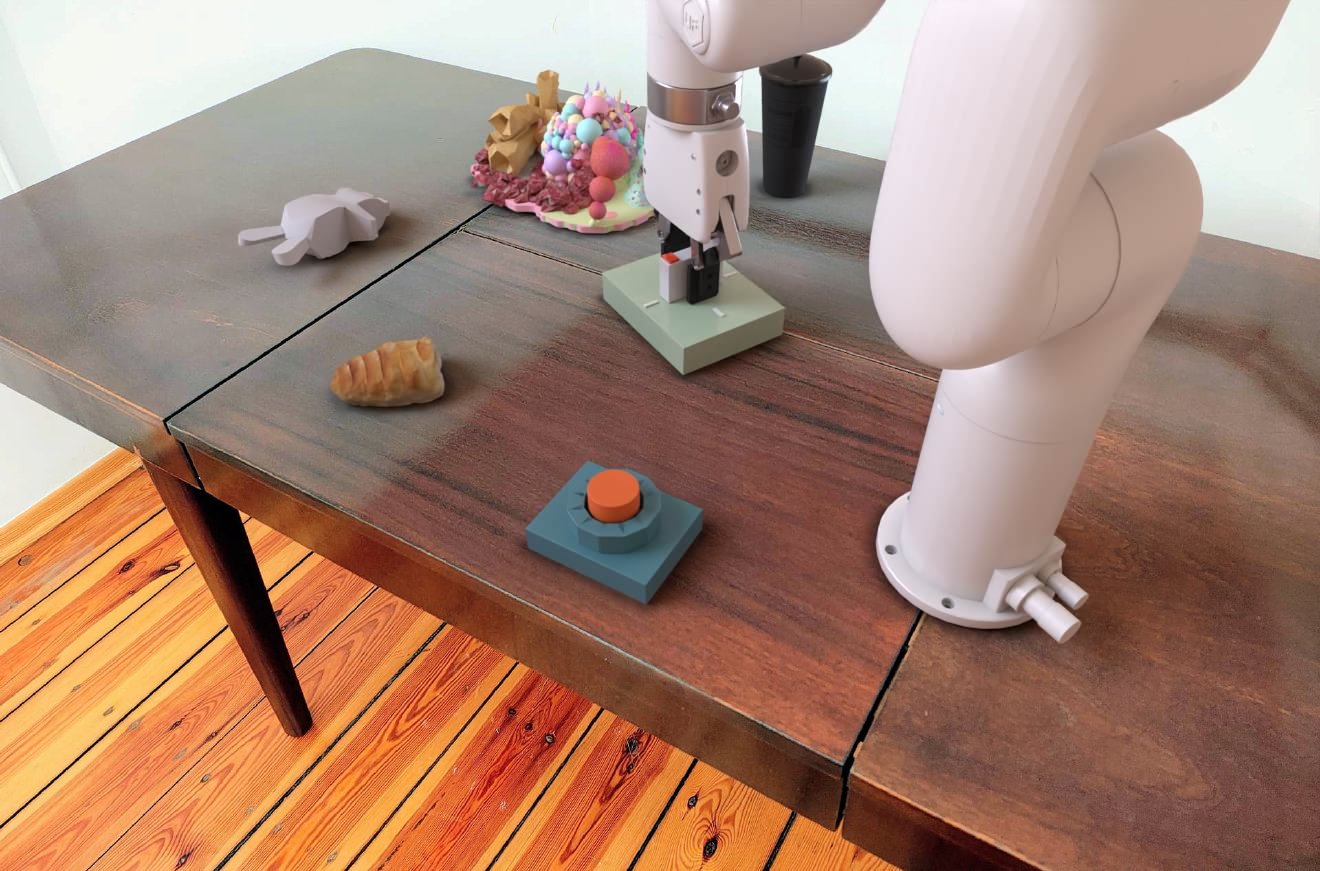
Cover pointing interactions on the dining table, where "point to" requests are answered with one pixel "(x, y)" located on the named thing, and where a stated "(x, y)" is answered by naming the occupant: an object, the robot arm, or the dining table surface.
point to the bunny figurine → (322, 225)
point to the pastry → (391, 375)
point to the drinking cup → (791, 120)
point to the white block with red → (678, 273)
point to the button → (613, 496)
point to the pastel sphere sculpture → (566, 160)
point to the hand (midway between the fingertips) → (689, 286)
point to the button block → (616, 535)
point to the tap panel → (693, 314)
